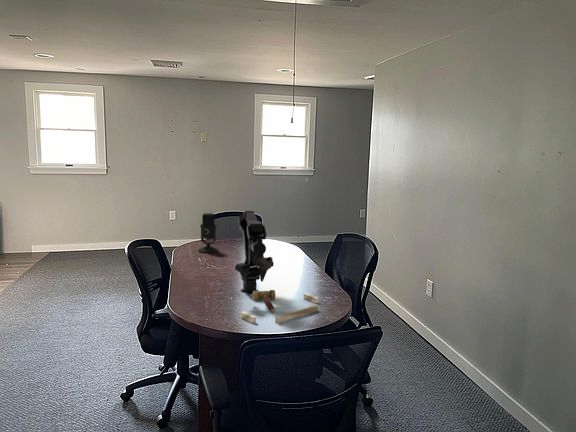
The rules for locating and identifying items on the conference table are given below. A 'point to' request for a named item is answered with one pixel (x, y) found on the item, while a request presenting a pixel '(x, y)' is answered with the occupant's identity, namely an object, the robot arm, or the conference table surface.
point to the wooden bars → (289, 315)
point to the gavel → (265, 298)
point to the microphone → (208, 233)
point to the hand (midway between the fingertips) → (254, 283)
